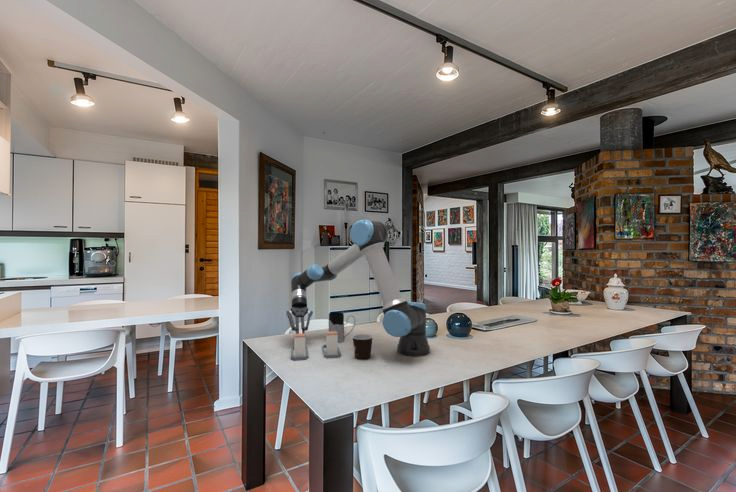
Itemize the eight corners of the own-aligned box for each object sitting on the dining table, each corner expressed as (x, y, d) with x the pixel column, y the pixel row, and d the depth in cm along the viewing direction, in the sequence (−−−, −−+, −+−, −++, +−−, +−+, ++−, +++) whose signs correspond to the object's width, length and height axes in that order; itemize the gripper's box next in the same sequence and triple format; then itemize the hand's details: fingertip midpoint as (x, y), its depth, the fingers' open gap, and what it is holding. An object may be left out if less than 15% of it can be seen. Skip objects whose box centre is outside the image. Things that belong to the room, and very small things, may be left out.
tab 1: (294, 355, 152) (294, 333, 152) (305, 355, 153) (305, 333, 153) (294, 358, 148) (294, 336, 148) (305, 358, 149) (305, 335, 149)
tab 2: (326, 353, 156) (326, 331, 156) (336, 352, 157) (336, 331, 157) (326, 355, 152) (326, 333, 152) (337, 355, 152) (337, 333, 153)
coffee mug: (370, 364, 144) (370, 340, 144) (350, 362, 146) (350, 338, 146) (375, 355, 156) (375, 333, 156) (356, 354, 158) (356, 332, 158)
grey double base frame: (290, 351, 162) (290, 346, 162) (337, 348, 167) (337, 343, 167) (290, 364, 144) (290, 358, 144) (342, 360, 149) (342, 354, 149)
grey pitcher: (326, 341, 179) (326, 312, 179) (353, 340, 182) (353, 311, 182) (328, 346, 170) (328, 315, 171) (357, 344, 174) (357, 314, 174)
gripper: (311, 304, 179) (313, 347, 163) (285, 304, 175) (285, 347, 159) (313, 296, 174) (316, 339, 158) (286, 295, 170) (286, 339, 154)
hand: (300, 343), depth 159 cm, fingers closed
